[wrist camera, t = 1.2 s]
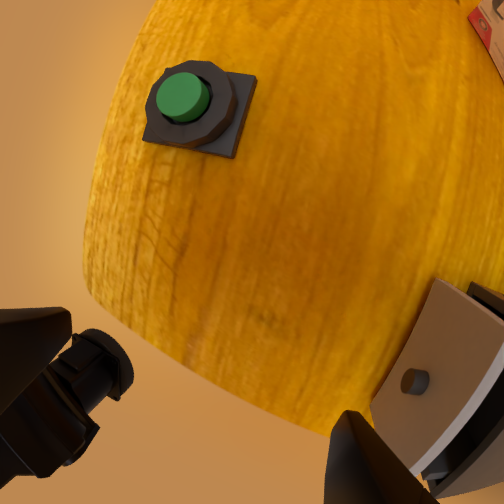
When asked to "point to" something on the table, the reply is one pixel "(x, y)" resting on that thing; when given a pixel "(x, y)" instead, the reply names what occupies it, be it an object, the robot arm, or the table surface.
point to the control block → (212, 119)
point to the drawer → (443, 384)
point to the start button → (182, 97)
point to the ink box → (491, 29)
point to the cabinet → (491, 448)
